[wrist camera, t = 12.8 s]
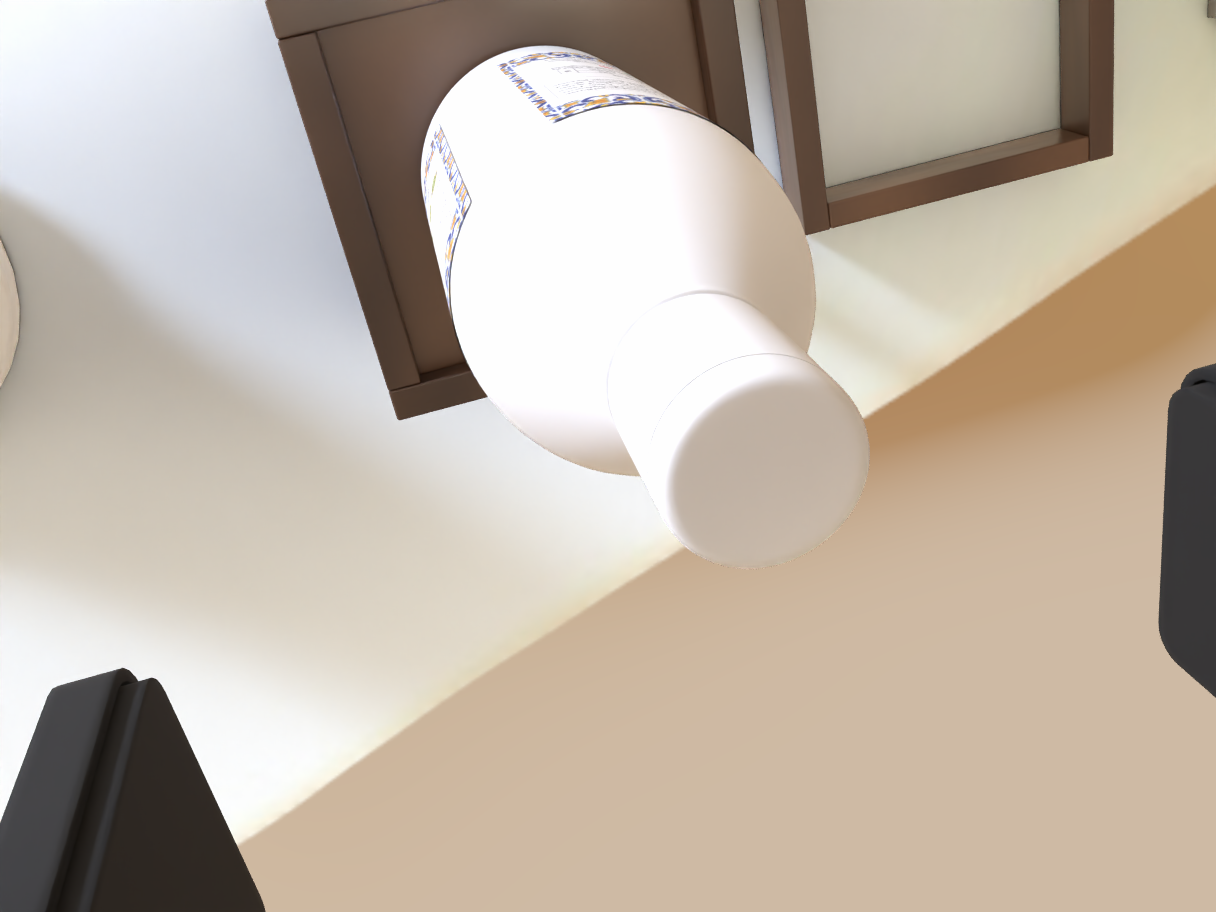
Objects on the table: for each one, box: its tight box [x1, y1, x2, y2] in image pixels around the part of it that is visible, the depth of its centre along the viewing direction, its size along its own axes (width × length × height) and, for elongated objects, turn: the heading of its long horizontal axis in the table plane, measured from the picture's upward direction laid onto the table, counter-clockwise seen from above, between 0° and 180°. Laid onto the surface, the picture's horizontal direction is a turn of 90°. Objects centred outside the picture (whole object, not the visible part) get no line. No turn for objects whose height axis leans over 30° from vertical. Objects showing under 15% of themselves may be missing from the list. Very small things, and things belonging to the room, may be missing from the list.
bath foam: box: [421, 46, 870, 569], centre depth 23 cm, size 7×7×20 cm
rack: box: [265, 0, 1114, 420], centre depth 37 cm, size 28×12×10 cm, turn 102°
